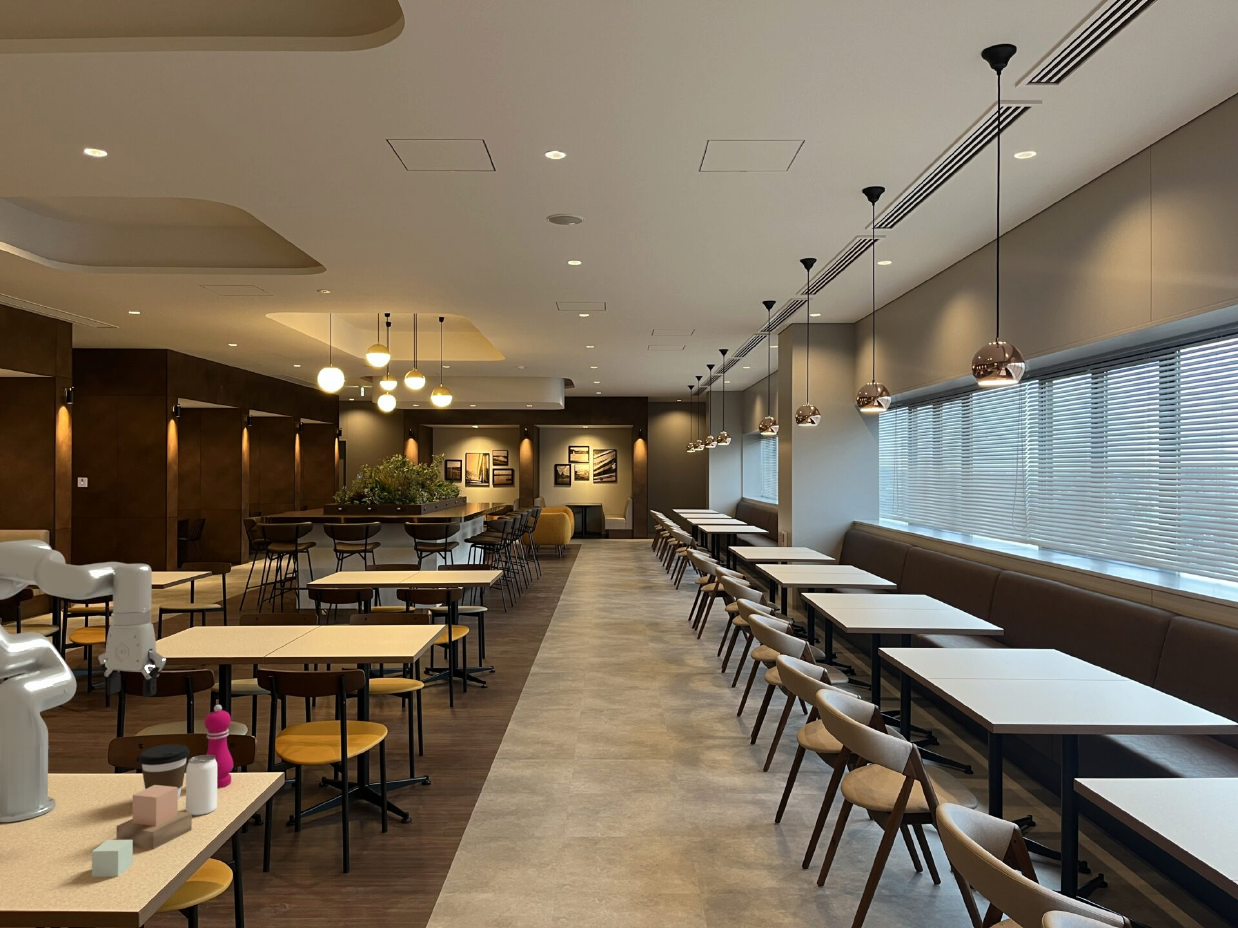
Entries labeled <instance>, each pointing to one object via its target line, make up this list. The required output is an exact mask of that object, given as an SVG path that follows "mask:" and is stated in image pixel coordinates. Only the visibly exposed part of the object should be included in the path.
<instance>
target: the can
mask: <svg viewBox="0 0 1238 928" xmlns="http://www.w3.org/2000/svg"><path fill="white" fill-rule="evenodd" d="M187 761H188V763H187V764H186V769H185V813H192V817H197V816H203V815H204V816H205V815H208V814H211V813H213V812H214V811H215V810H216V809H217V807H218V788H217V762H216V760H215V756H213V755H206V754H201V755H197V756H193V757H191V758H189V759H188V760H187Z"/></svg>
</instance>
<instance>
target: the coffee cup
mask: <svg viewBox="0 0 1238 928" xmlns="http://www.w3.org/2000/svg"><path fill="white" fill-rule="evenodd" d="M190 755H191V752H190V749H189V746H187V745H185V744H181V743H172V744H171V743H169V744H161V745H156V746H153V747H149V748H147V749H145V750H143V751H142V752H141V753H140V756H139V757H138V763H139V764H141V766H142V767H141V772H142V777H143V783H144V790H145V789H147V788H149V787H151V786H153V785H161V786H171V787H178V800H179V799H180V796H181V793H182V792H181V791H182V787H183V786H184V785H183V784H184V779H185V775H186V767H187V758H188V757H189V756H190Z"/></svg>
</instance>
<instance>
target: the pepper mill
mask: <svg viewBox="0 0 1238 928" xmlns="http://www.w3.org/2000/svg"><path fill="white" fill-rule="evenodd" d="M213 710H214V711H211V712H209V713H208V714H207V716H206V717H205V718H204V727H205V728H206V730H207V732H206V734H207V735H206V739H208V746H207V747H208V748H207V752H206V754H205V755H213V756H215V760H216V762H217V789H221V788H225V787H227V786H229V785H230V784H232V775H231V774H230V773H231V772H232V770H233V768H234V760H233V756H232V755H231V752H230V750H229V748H228V743H227V741H228V739H227V738H228V736H229V735H230V734H229V731H230V730H229V728H228V727H230V726H231V724H232V723H231V722H232V718H231V715H230V713H229V712H227V711H226V710H223V707H222V705H221V704H217V705H215V706H214V707H213Z"/></svg>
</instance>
